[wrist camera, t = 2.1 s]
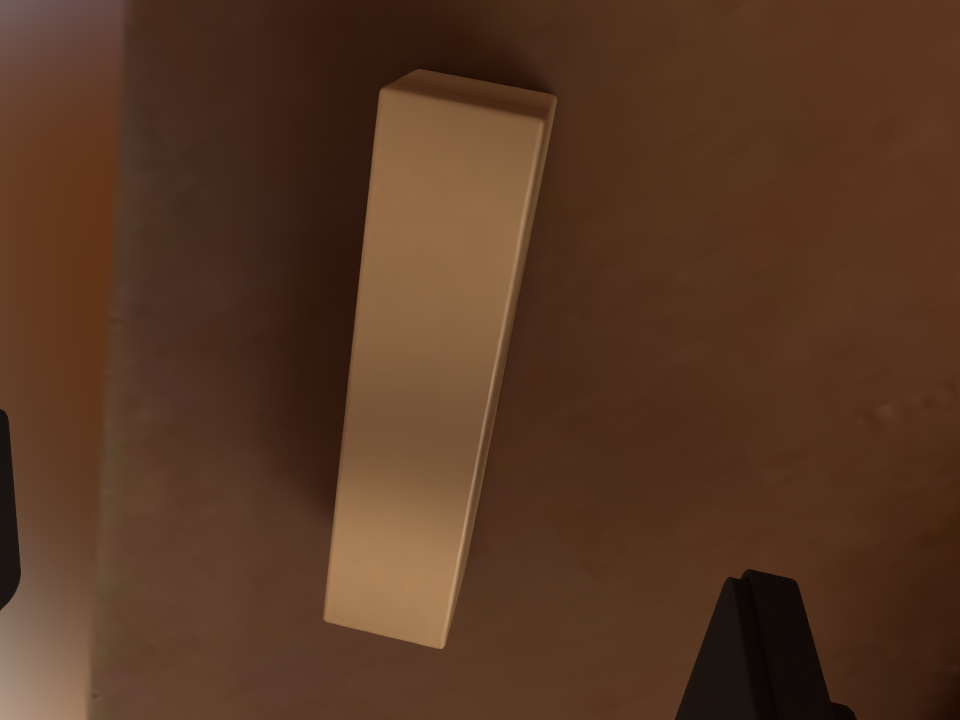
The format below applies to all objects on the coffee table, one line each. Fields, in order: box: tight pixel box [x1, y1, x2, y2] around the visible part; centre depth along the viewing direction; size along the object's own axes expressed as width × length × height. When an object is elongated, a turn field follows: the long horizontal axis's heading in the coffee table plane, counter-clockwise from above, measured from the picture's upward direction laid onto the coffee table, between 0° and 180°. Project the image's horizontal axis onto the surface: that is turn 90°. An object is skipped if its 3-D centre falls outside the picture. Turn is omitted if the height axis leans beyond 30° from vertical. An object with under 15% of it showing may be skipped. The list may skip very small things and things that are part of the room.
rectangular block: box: [323, 69, 557, 649], centre depth 15 cm, size 10×2×2 cm, turn 171°
